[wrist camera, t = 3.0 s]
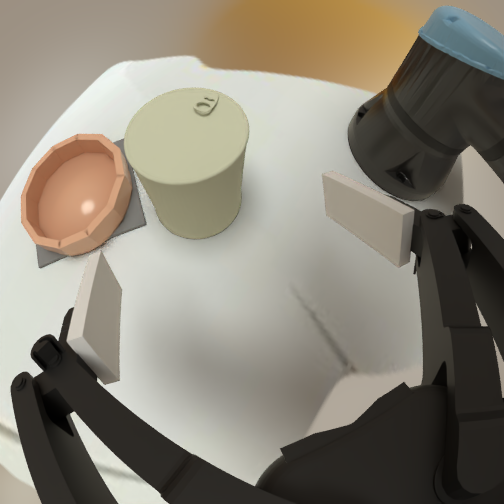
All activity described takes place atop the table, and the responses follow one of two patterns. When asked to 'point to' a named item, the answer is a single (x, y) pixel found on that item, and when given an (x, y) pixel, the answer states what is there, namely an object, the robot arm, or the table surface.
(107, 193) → the bowl
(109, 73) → the table surface
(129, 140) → the can
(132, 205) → the mat
